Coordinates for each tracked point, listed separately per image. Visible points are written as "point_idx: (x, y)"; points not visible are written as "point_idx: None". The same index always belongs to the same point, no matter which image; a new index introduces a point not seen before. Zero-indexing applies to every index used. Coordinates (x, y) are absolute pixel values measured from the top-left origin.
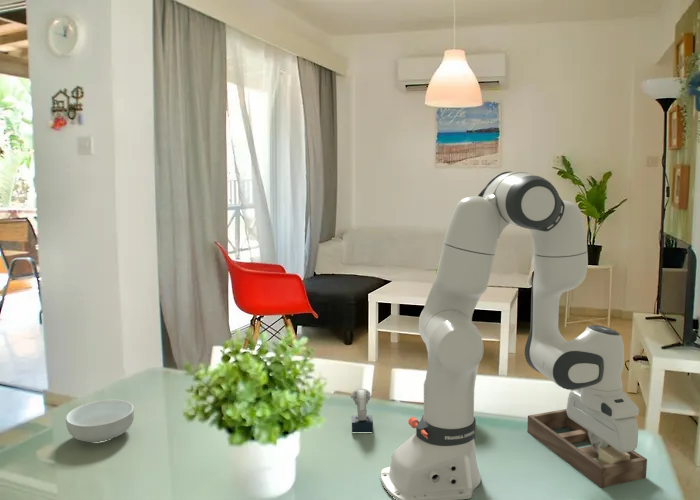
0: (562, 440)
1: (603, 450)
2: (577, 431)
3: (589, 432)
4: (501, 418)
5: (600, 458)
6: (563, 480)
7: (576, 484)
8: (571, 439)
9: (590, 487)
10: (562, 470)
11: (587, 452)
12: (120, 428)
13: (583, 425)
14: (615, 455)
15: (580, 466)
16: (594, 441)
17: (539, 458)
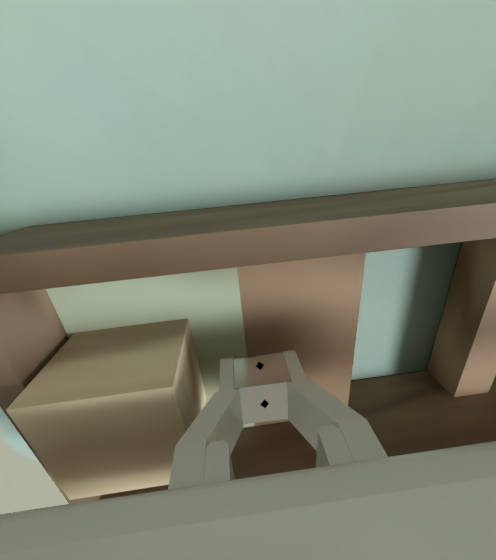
0: (443, 207)
1: (143, 402)
2: (487, 373)
3: (357, 445)
4: None
5: (165, 343)
6: (123, 32)
7: (68, 100)
8: (459, 321)
9: (34, 171)
10: (243, 111)
11: (306, 322)
12: None
13: (461, 479)
14: (58, 437)
15: (199, 214)
16: (296, 404)
17: (420, 38)
